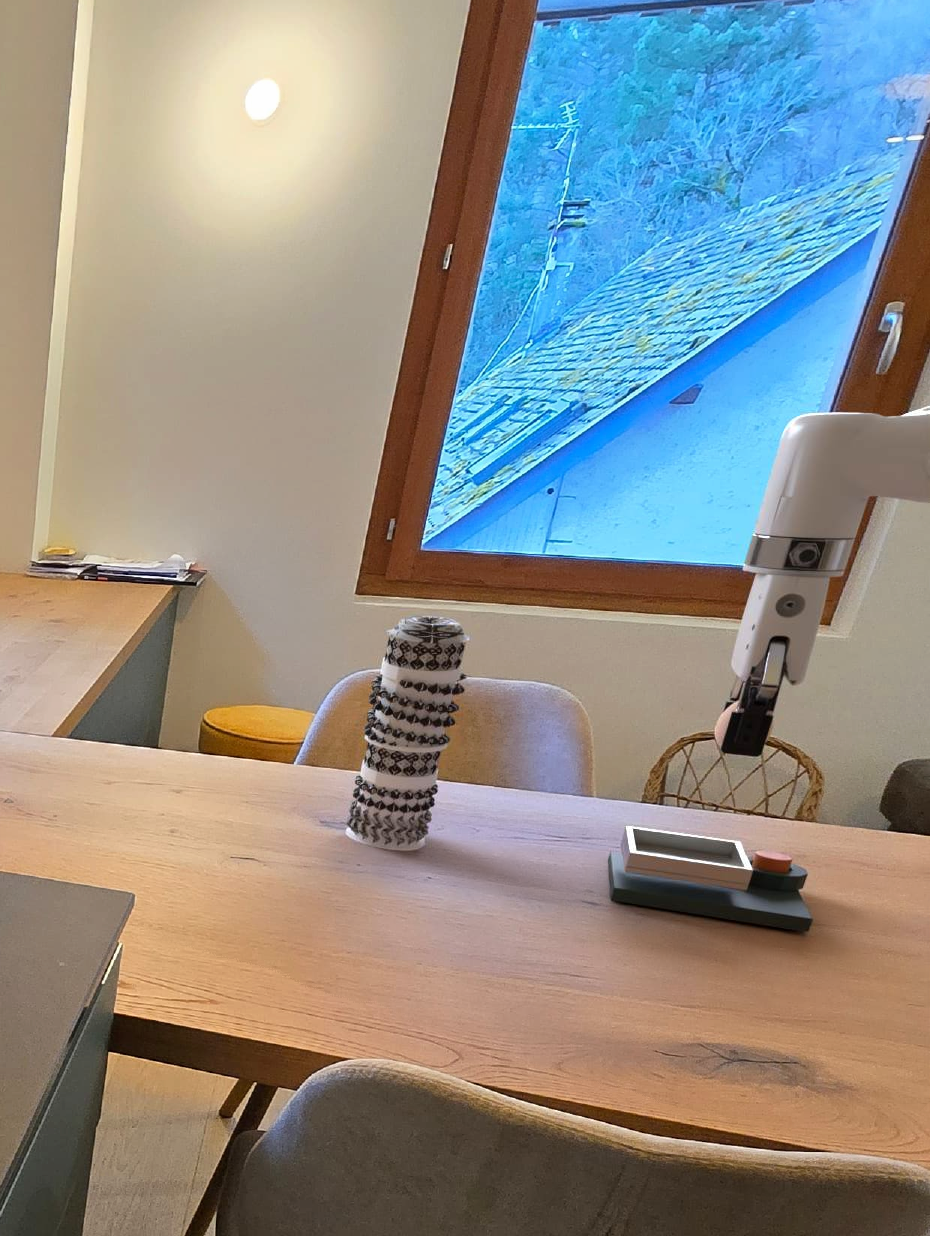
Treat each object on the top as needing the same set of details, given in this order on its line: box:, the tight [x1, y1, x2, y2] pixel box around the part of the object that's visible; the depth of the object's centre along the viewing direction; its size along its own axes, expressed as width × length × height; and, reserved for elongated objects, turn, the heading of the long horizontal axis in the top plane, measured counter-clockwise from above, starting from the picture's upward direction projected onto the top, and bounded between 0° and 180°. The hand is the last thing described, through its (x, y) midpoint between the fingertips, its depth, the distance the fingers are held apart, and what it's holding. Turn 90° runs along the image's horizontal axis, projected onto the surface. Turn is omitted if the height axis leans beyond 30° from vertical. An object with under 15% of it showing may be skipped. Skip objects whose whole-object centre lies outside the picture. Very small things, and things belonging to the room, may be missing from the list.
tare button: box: [752, 850, 794, 872], centre depth 122 cm, size 3×3×2 cm
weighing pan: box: [620, 825, 753, 890], centre depth 121 cm, size 10×10×2 cm
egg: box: [714, 701, 774, 756], centre depth 117 cm, size 4×4×6 cm
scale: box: [607, 851, 814, 933], centre depth 122 cm, size 16×14×3 cm
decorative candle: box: [345, 615, 471, 852], centre depth 132 cm, size 9×9×25 cm
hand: (737, 746), depth 118 cm, fingers closed on egg, 4 cm apart
